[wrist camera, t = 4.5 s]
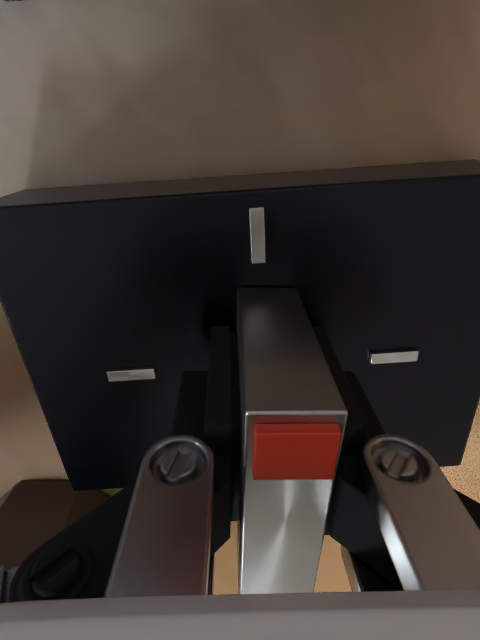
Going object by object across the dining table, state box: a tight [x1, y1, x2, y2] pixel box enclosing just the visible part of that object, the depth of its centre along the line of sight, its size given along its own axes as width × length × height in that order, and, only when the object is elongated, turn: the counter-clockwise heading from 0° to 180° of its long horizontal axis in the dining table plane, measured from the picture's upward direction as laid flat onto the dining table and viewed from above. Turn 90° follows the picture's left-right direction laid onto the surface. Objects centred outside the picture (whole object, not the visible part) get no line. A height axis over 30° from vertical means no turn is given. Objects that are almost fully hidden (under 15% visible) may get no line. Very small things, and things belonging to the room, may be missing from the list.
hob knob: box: [236, 288, 348, 594], centre depth 9 cm, size 5×2×5 cm, turn 179°
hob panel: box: [0, 160, 480, 491], centre depth 13 cm, size 14×10×3 cm
